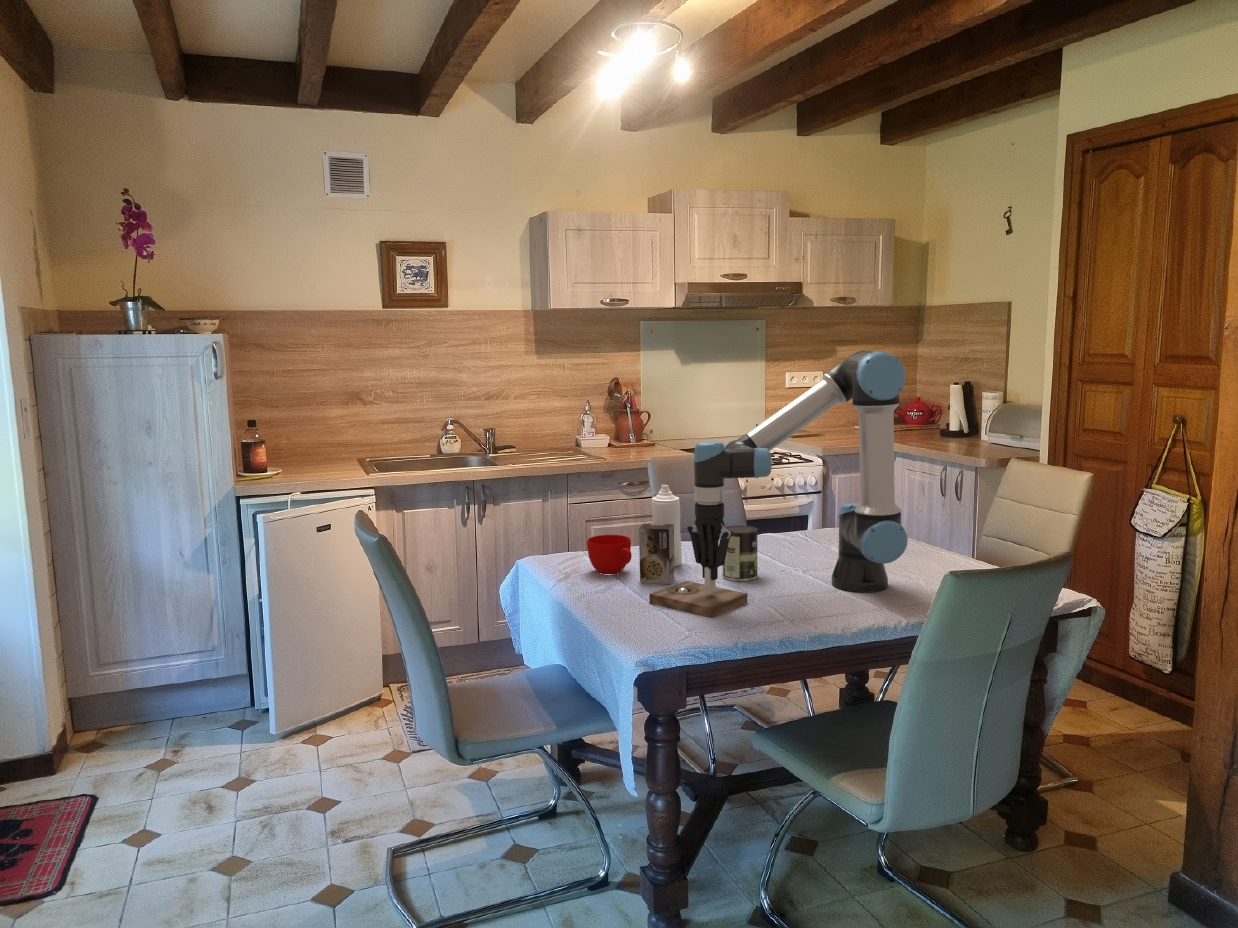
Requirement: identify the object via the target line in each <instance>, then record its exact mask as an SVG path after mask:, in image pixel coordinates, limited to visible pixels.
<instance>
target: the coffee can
mask: <svg viewBox="0 0 1238 928" xmlns="http://www.w3.org/2000/svg"><path fill="white" fill-rule="evenodd" d="M725 528H726V529H727V530H728V531H730V530H731V531H732V532H733V534H732V536H731V537H730V539H729V544H728V548H727V553H726V558H725V563H724V565H722V566H721V568H722V569H721V570H722V571H721V572H722V574H721V577H722V578H723V579H724V580H728V581H732V582H748V581H749V582H750V581H754V580H757V578H758V577H759V576H758V532H759V529H758V528H757V527H756V526H750V525H729V526H725Z"/></svg>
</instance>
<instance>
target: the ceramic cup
mask: <svg viewBox="0 0 1238 928" xmlns="http://www.w3.org/2000/svg"><path fill="white" fill-rule="evenodd" d="M631 544H632V538H631V537H629V536H627V535H626V536H625V535H621V534H601V535H600V534H599V535H594V536H591V537H589V538H587V540H586V546H587V549H586V550H587V553H588V554H587V555H588V558H589V562H590V564H591V565H592V567H593V568H594V570H595V571H596V572H597V573H598V572H599V573H602V574H616V575H618V574H617V573H619V574H621V573H622V571H623V570H624V569H625V568H626V565H628V564H629V563H630V562H631V560H632V556H633V555H632V551H631V546H632V545H631ZM620 572H621V573H620ZM599 573H598V574H599Z"/></svg>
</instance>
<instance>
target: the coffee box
mask: <svg viewBox="0 0 1238 928" xmlns="http://www.w3.org/2000/svg"><path fill="white" fill-rule="evenodd" d="M638 547H639V548H638V549H639V551H638V553H639V583H640V582H642V583H641V584H661V585H662V584H663V585H671V584H672V583H673V582H674V580H676V577H675V575H676V574H675V566H674V524H653V523H646V522H644V523H643V524H641V526H640V527H638Z"/></svg>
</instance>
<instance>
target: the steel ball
mask: <svg viewBox="0 0 1238 928" xmlns="http://www.w3.org/2000/svg"><path fill="white" fill-rule="evenodd" d="M677 592H679V593H687V592H688V590H687V589H686V588H680V589H678V591H677Z"/></svg>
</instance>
